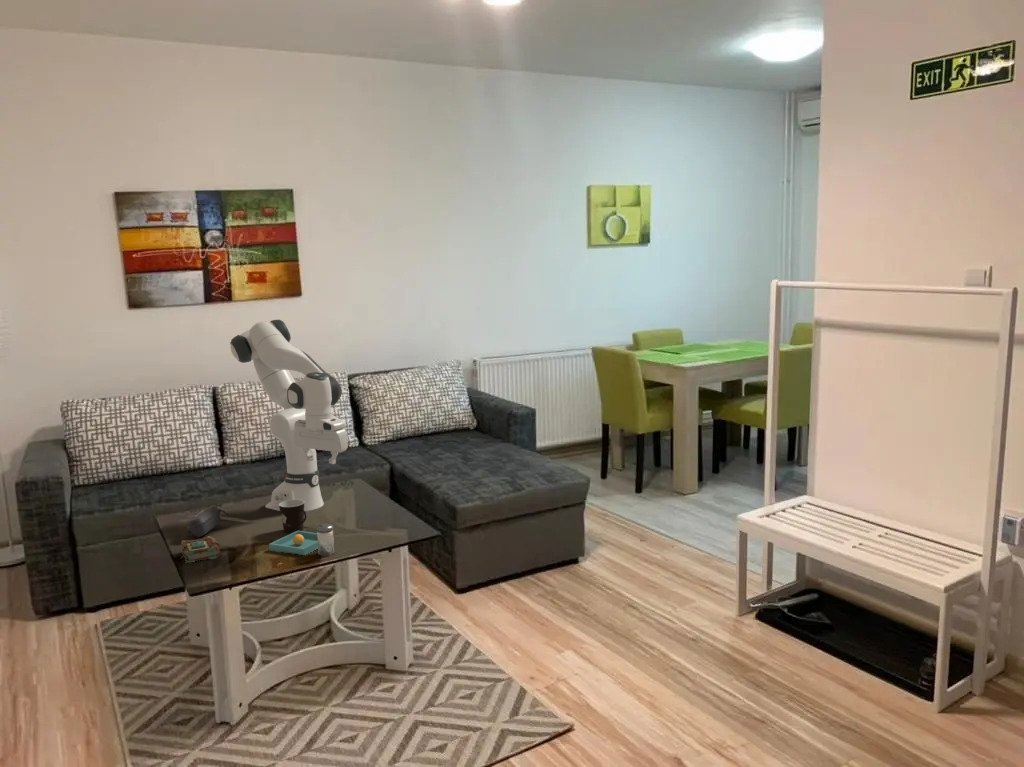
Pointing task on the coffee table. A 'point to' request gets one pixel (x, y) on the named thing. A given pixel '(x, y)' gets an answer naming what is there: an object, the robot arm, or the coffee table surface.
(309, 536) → the tray
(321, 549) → the cup
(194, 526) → the glasses case
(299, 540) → the ball
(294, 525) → the coffee mug
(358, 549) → the coffee table surface
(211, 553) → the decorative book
